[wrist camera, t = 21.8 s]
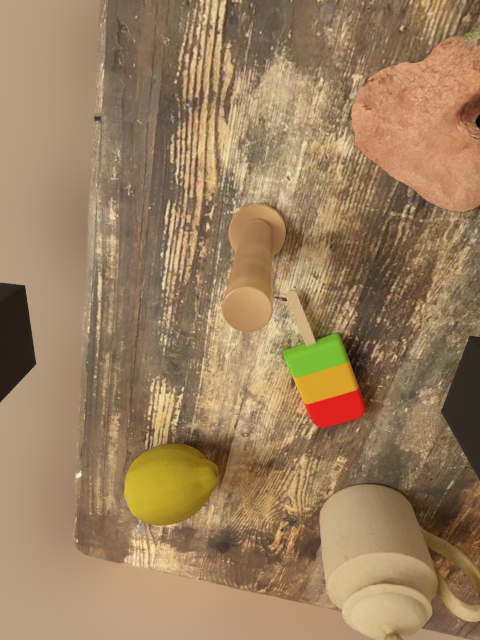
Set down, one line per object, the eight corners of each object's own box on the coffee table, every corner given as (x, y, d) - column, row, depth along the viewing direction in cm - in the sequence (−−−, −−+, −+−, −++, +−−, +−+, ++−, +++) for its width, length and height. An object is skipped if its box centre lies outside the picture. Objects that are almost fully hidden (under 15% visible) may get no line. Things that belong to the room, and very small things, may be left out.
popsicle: (314, 420, 45) (315, 432, 43) (260, 297, 39) (260, 305, 37) (366, 406, 43) (369, 417, 42) (319, 276, 38) (321, 284, 36)
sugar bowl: (428, 458, 46) (493, 603, 32) (459, 523, 50) (529, 676, 36) (302, 500, 50) (313, 644, 36) (340, 557, 54) (363, 706, 40)
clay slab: (337, 184, 34) (343, 191, 31) (391, -20, 28) (404, -34, 25) (516, 218, 34) (537, 227, 31) (607, 22, 28) (643, 12, 26)
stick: (253, 190, 35) (240, 246, 20) (297, 228, 36) (314, 305, 22) (218, 235, 37) (182, 314, 22) (260, 269, 38) (253, 366, 23)
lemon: (145, 485, 50) (124, 547, 43) (122, 435, 47) (95, 492, 40) (233, 474, 49) (226, 537, 42) (215, 421, 45) (205, 478, 38)
